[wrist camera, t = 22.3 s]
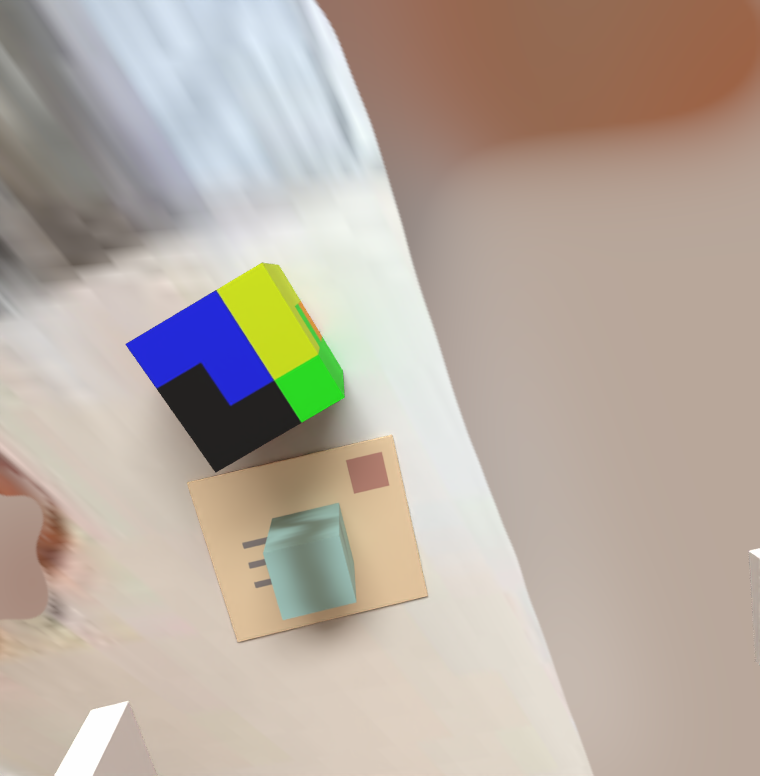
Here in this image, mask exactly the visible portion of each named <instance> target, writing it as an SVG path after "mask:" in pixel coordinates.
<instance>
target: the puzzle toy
mask: <svg viewBox="0 0 760 776" xmlns="http://www.w3.org/2000/svg"><path fill="white" fill-rule="evenodd" d="M126 346H127V347H128V349H129V350H130V352H131V353H132V354H133V356H134V357H135V359H136V360H137V362H138V363H139V364H140V366H141V367H142V369H143V370H144V371H145V373H146V374H147V376H148V377H149V379H150V380H151V381H152V383H153V384H154V386H155V387H156V389H157V390H158V391H159V393H160V394H161V396H162V397H163V398H164V400H165V401H166V403H167V404H168V406H169V407H170V408H171V410H172V411H173V413H174V414H175V416H176V417H177V418H178V420H179V421H180V423H181V424H182V426H183V427H184V428H185V430H186V431H187V433H188V434H189V435H190V437H191V438H192V440H193V441H194V443H195V444H196V445H197V447H198V448H199V450H200V451H201V453H202V454H203V455H204V457H205V458H206V460H207V461H208V462H209V464H210V465H211V467H212V468H213V470H214V471H215V472H218V471H219V470H221V469H223V468H224V467H226V466H228V465H230V464H231V463H233V462H235V461H236V460H238V459H240V458H242V457H243V456H245V455H247V454H249V453H250V452H252V451H254V450H255V449H257V448H259V447H261V446H262V445H264V444H266V443H267V442H269V441H271V440H273V439H274V438H276V437H278V436H279V435H281V434H283V433H285V432H286V431H288V430H290V429H291V428H293V427H295V426H297V425H298V424H300V423H302V422H303V421H305V420H307V419H309V418H310V417H312V416H314V415H315V414H317V413H319V412H321V411H322V410H324V409H326V408H328V407H329V406H331V405H333V404H334V403H336V402H338V401H340V400H341V399H343V398H345V395H344V381H343V370H342V369H341V367H340V365H339V364H338V362H337V360H336V359H335V357H334V355H333V354H332V352H331V350H330V349H329V347H328V346H327V344H326V342H325V341H324V339H323V337H322V336H321V334H320V332H319V331H318V329H317V327H316V326H315V324H314V322H313V321H312V319H311V317H310V316H309V314H308V313H307V311H306V309H305V308H304V306H303V304H302V303H301V301H300V299H299V298H298V296H297V294H296V293H295V291H294V289H293V288H292V286H291V284H290V283H289V281H288V279H287V278H286V276H285V275H284V273H283V271H282V270H281V268H280V266H279V265H275V264H268V263H261V264H259V265H257V266H256V267H254V268H252V269H251V270H249V271H247V272H246V273H244V274H242V275H241V276H239V277H237V278H236V279H234V280H232V281H230V282H229V283H227V284H225V285H224V286H222V287H220V288H219V289H217V290H215V291H214V292H212V293H210V294H209V295H207V296H205V297H204V298H202V299H200V300H199V301H197V302H195V303H194V304H192V305H190V306H189V307H187V308H185V309H184V310H182V311H180V312H179V313H177V314H175V315H174V316H172V317H170V318H168V319H167V320H165V321H163V322H162V323H160V324H158V325H157V326H155V327H153V328H152V329H150V330H148V331H147V332H145V333H143V334H142V335H140V336H138V337H137V338H135V339H133V340H132V341H130V342H128V343H127V344H126Z"/></svg>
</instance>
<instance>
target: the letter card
mask: <svg viewBox="0 0 760 776" xmlns="http://www.w3.org/2000/svg"><path fill="white" fill-rule="evenodd" d="M187 485H188V488H189V491H190V494H191V497H192V500H193V504H194V507H195V510H196V513H197V516H198V519H199V522H200V525H201V529H202V532H203V535H204V538H205V541H206V544H207V547H208V550H209V554H210V557H211V560H212V563H213V566H214V569H215V572H216V575H217V579H218V582H219V585H220V588H221V591H222V594H223V597H224V600H225V604H226V607H227V610H228V613H229V616H230V619H231V622H232V625H233V629H234V632H235V635H236V638H237V641H238V642H240V641H244V640H248V639H253V638H257V637H261V636H265V635H269V634H273V633H277V632H281V631H285V630H290V629H294V628H298V627H302V626H306V625H310V624H314V623H318V622H323V621H327V620H331V619H335V618H339V617H343V616H347V615H351V614H356V613H360V612H364V611H368V610H372V609H376V608H380V607H384V606H388V605H393V604H397V603H401V602H405V601H409V600H413V599H417V598H421V597H426V596H428V594H427V590H426V585H425V581H424V576H423V572H422V567H421V563H420V558H419V554H418V549H417V545H416V540H415V536H414V531H413V527H412V522H411V518H410V513H409V509H408V504H407V499H406V495H405V490H404V486H403V481H402V477H401V472H400V468H399V463H398V459H397V454H396V450H395V445H394V441H393V436H392V435H389V436H384V437H380V438H376V439H372V440H367V441H363V442H359V443H354V444H350V445H346V446H341V447H337V448H333V449H329V450H324V451H320V452H316V453H311V454H307V455H303V456H298V457H294V458H290V459H286V460H281V461H277V462H273V463H268V464H264V465H260V466H255V467H251V468H247V469H243V470H238V471H234V472H230V473H225V474H221V475H217V476H212V477H208V478H204V479H200V480H195V481H191V482H188V483H187ZM335 503H339V505H340V509H341V513H342V517H343V521H344V525H345V529H346V532H347V536H348V540H349V544H350V548H351V552H352V556H353V560H354V569H355V585H356V603H352V604H348V605H344V606H340V607H336V608H331V609H327V610H323V611H319V612H315V613H311V614H307V615H303V616H298V617H294V618H290V619H286V620H282V616H281V613H280V609H279V606H278V603H277V599H276V596H275V593H274V589H273V586H272V582H271V579H270V576H269V572H268V569H267V565H266V562H265V559H264V555H263V552H264V548H265V544H266V540H267V536H268V532H269V529H270V525H271V521H272V518H276V517H280V516H285V515H289V514H293V513H297V512H302V511H306V510H310V509H314V508H319V507H323V506H327V505H331V504H335Z"/></svg>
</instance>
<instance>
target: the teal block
mask: <svg viewBox="0 0 760 776" xmlns="http://www.w3.org/2000/svg"><path fill="white" fill-rule="evenodd" d="M263 555H264V559H265V562H266V565H267V569H268V572H269V576H270V579H271V582H272V586H273V589H274V593H275V596H276V599H277V603H278V606H279V609H280V613H281V616H282V620H286V619H290V618H294V617H298V616H303V615H307V614H311V613H315V612H319V611H323V610H327V609H331V608H336V607H340V606H344V605H348V604H352V603H356V585H355V569H354V560H353V556H352V552H351V548H350V544H349V540H348V536H347V532H346V529H345V525H344V521H343V517H342V513H341V509H340V505H339V503H335V504H331V505H327V506H323V507H319V508H314V509H310V510H306V511H302V512H297V513H293V514H289V515H285V516H280V517H276V518H272V521H271V525H270V529H269V532H268V536H267V540H266V544H265V548H264V552H263Z"/></svg>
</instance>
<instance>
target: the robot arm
mask: <svg viewBox="0 0 760 776" xmlns="http://www.w3.org/2000/svg"><path fill="white" fill-rule="evenodd" d="M749 565H750V581H751V597H752V613H753V630H754V645H755V661H756V662H757V663H758V664H759V665H760V548H759V549H755V550H751V551H749ZM55 776H158V775H157V773H156V770H155V768H154V765H153V762H152V760H151V757H150V755H149V752H148V749H147V747H146V744H145V742H144V739H143V736H142V734H141V731H140V729H139V726H138V723H137V721H136V718H135V716H134V713H133V710H132V708H131V705H130V703H129V701H126V702H122V703H118V704H114V705H110V706H105V707H101V708H97V709H93V710H91V711H90V713H89V715H88V717H87V718H86V720H85V722H84V724H83V726H82V727H81V729H80V731H79V733H78V735H77V736H76V738H75V740H74V742H73V743H72V745H71V747H70V749H69V751H68V752H67V754H66V756H65V758H64V759H63V761H62V763H61V765H60V767H59V768H58V770H57V772H56V774H55Z"/></svg>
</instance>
